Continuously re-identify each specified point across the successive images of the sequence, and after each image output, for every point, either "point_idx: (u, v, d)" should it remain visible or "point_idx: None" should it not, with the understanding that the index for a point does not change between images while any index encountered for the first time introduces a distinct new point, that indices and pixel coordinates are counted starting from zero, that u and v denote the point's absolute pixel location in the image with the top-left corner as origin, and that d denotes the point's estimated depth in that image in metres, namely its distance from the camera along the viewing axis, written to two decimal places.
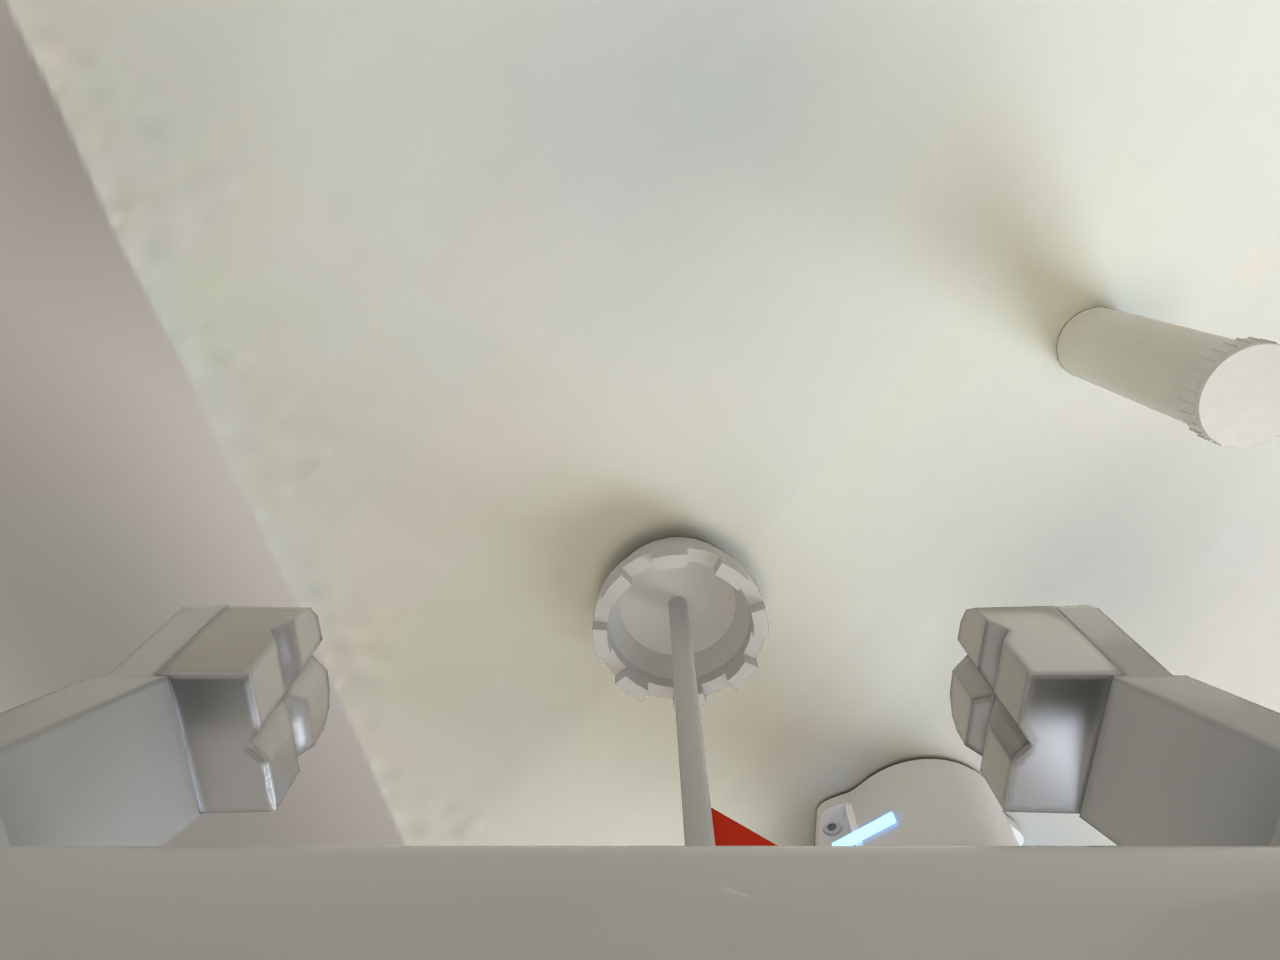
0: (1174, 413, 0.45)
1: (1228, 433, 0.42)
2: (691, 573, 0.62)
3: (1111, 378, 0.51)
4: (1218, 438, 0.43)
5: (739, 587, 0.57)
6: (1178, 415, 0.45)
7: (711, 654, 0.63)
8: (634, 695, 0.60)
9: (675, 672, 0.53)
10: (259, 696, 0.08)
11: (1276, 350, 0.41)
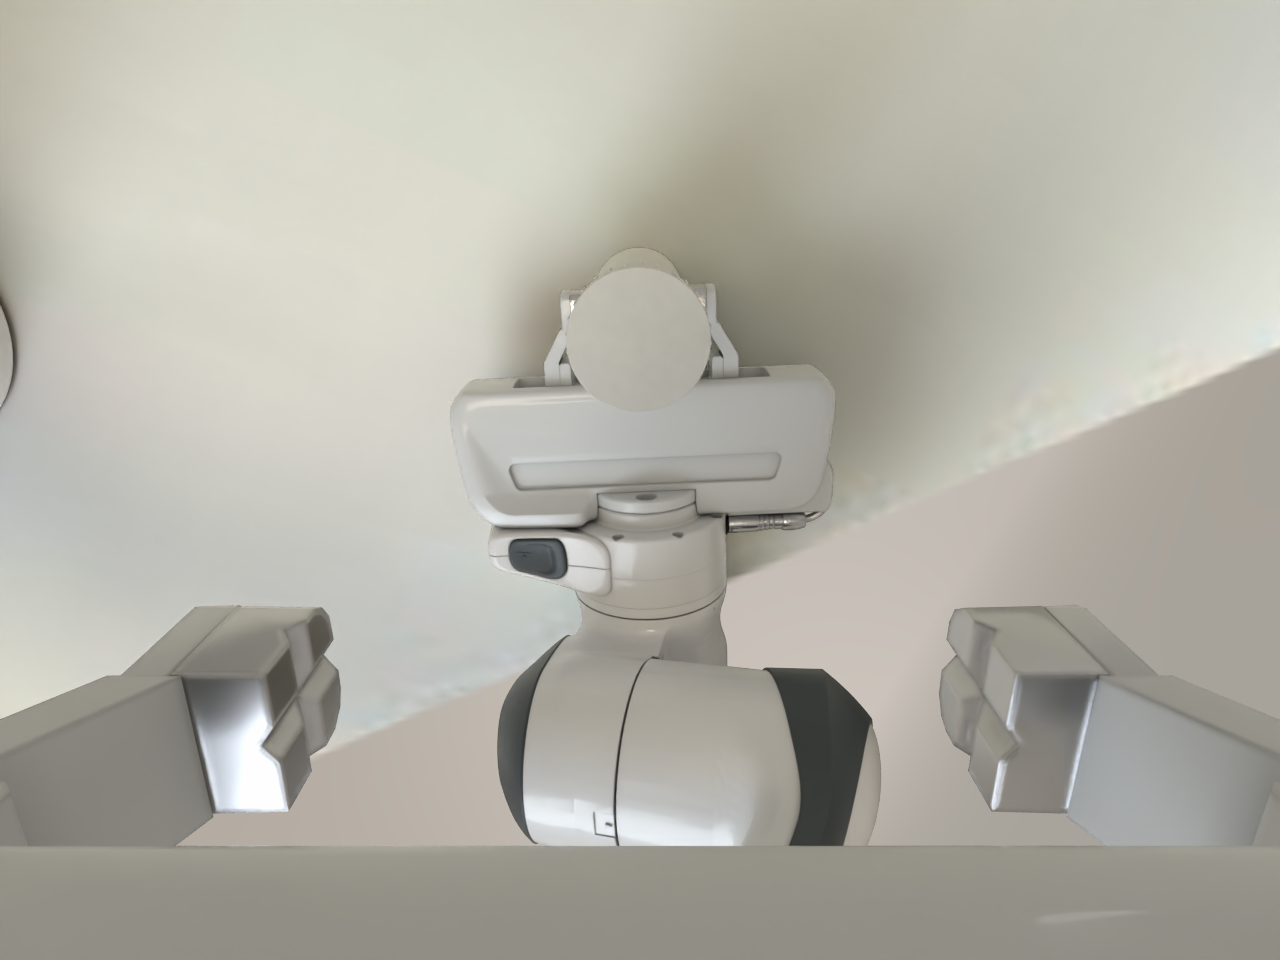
0: None
1: (583, 331, 0.31)
2: None
3: (607, 267, 0.39)
4: (573, 321, 0.31)
5: None
6: None
7: None
8: None
9: None
10: (272, 696, 0.08)
11: (703, 341, 0.31)
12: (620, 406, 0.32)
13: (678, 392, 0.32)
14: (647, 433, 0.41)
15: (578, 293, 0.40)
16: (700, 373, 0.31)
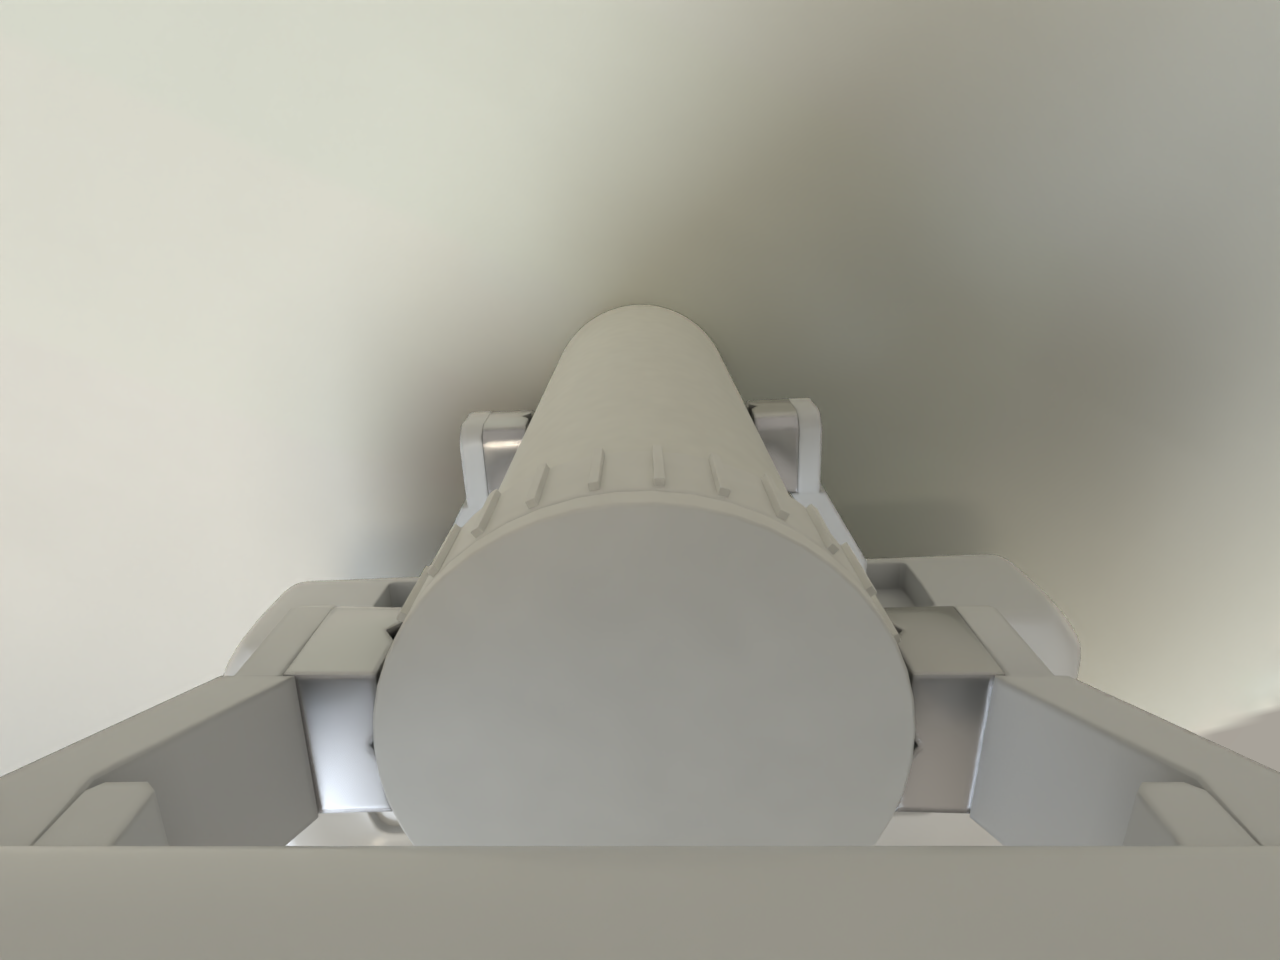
0: None
1: (435, 723, 0.08)
2: None
3: (567, 374, 0.16)
4: (397, 688, 0.08)
5: None
6: None
7: None
8: None
9: None
10: None
11: (885, 752, 0.08)
12: None
13: None
14: None
15: (502, 426, 0.17)
16: None
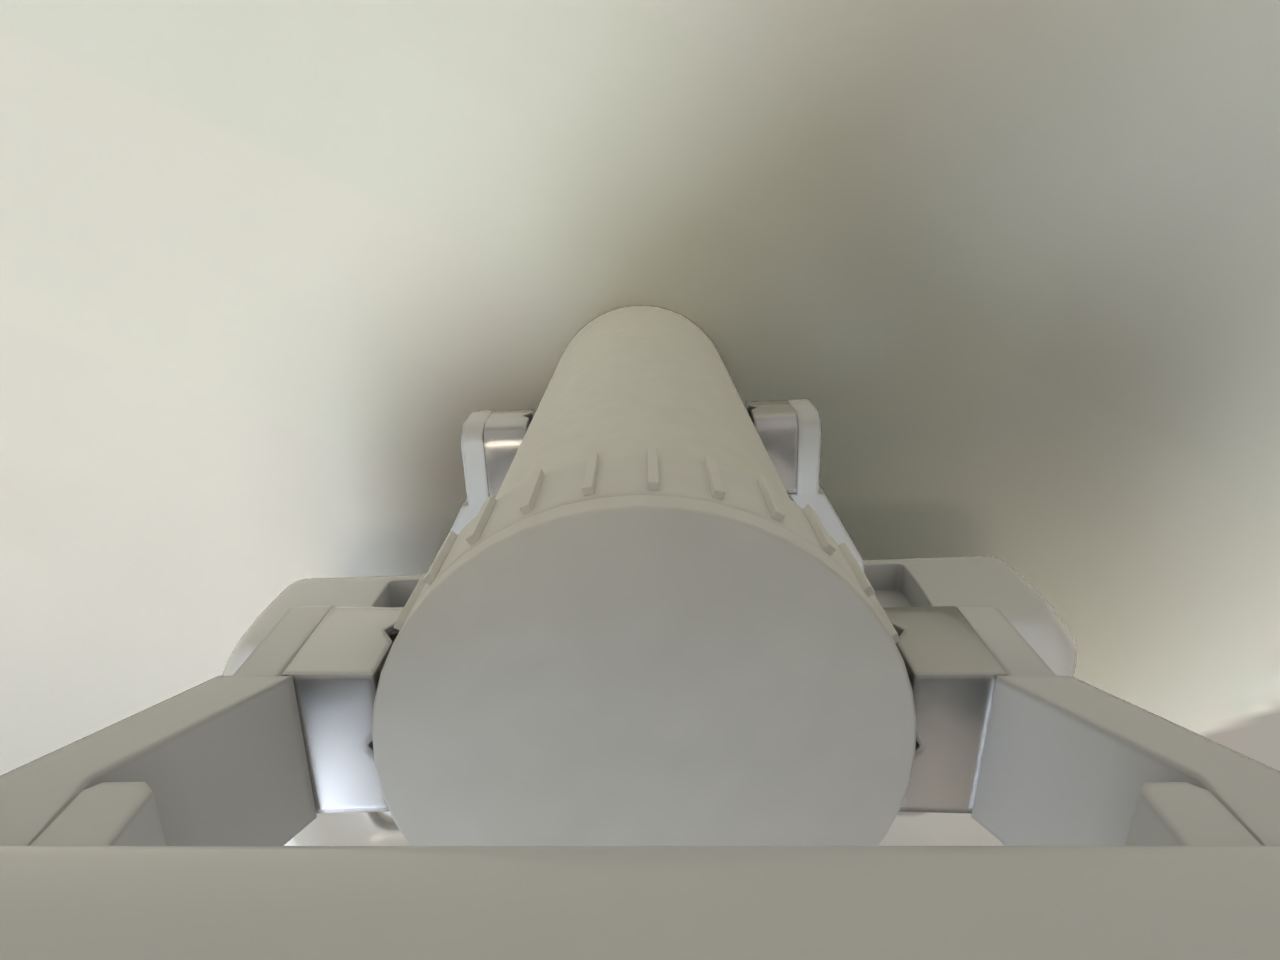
0: None
1: None
2: None
3: (568, 375, 0.16)
4: None
5: None
6: None
7: None
8: None
9: None
10: None
11: (698, 541, 0.07)
12: None
13: (875, 666, 0.08)
14: None
15: (503, 426, 0.17)
16: (825, 576, 0.07)
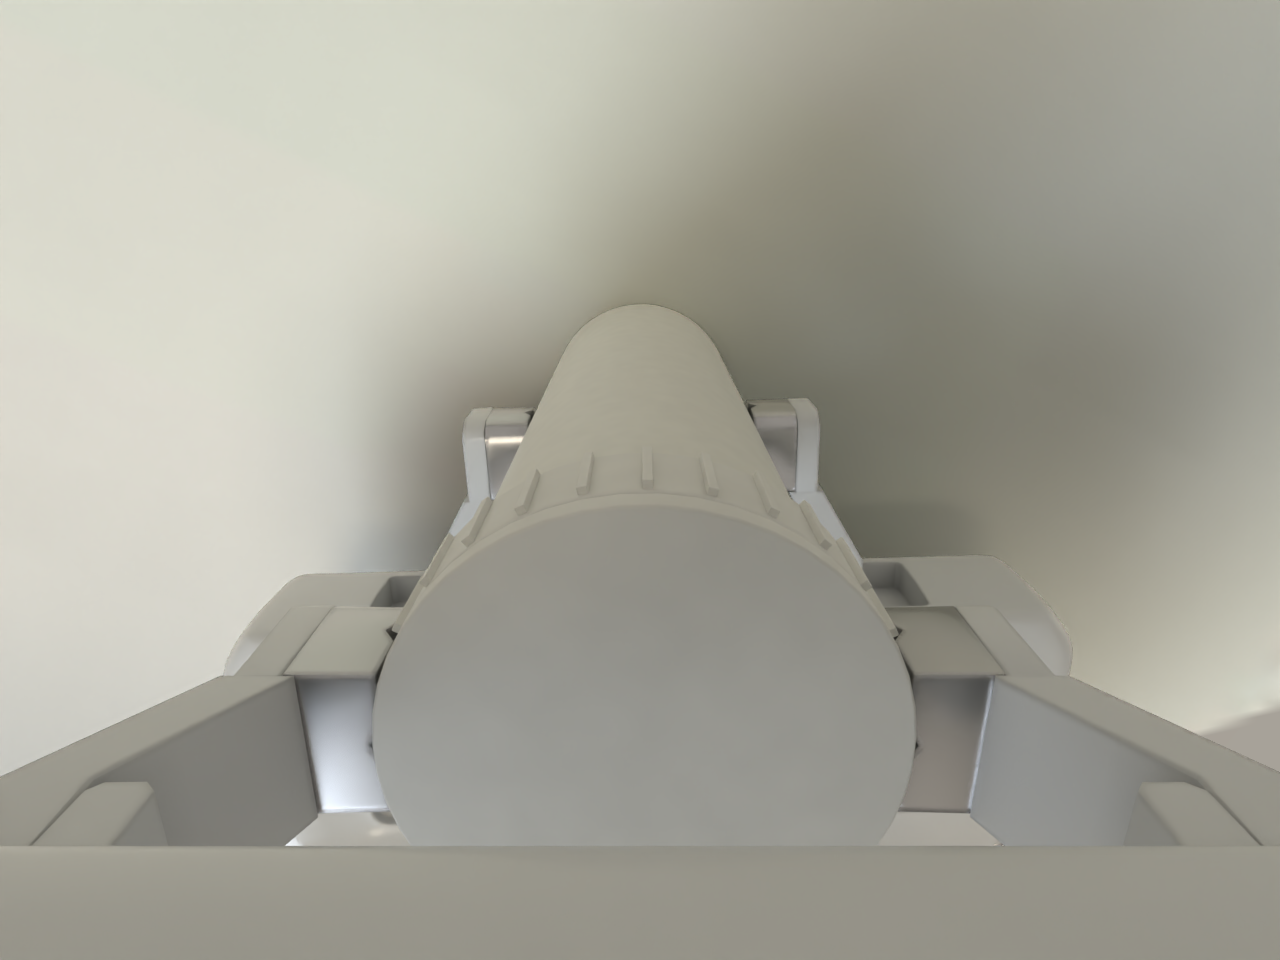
0: None
1: None
2: None
3: (570, 371, 0.16)
4: None
5: None
6: None
7: None
8: None
9: None
10: None
11: (412, 675, 0.08)
12: (823, 576, 0.08)
13: (574, 541, 0.07)
14: None
15: (505, 423, 0.18)
16: (460, 576, 0.08)
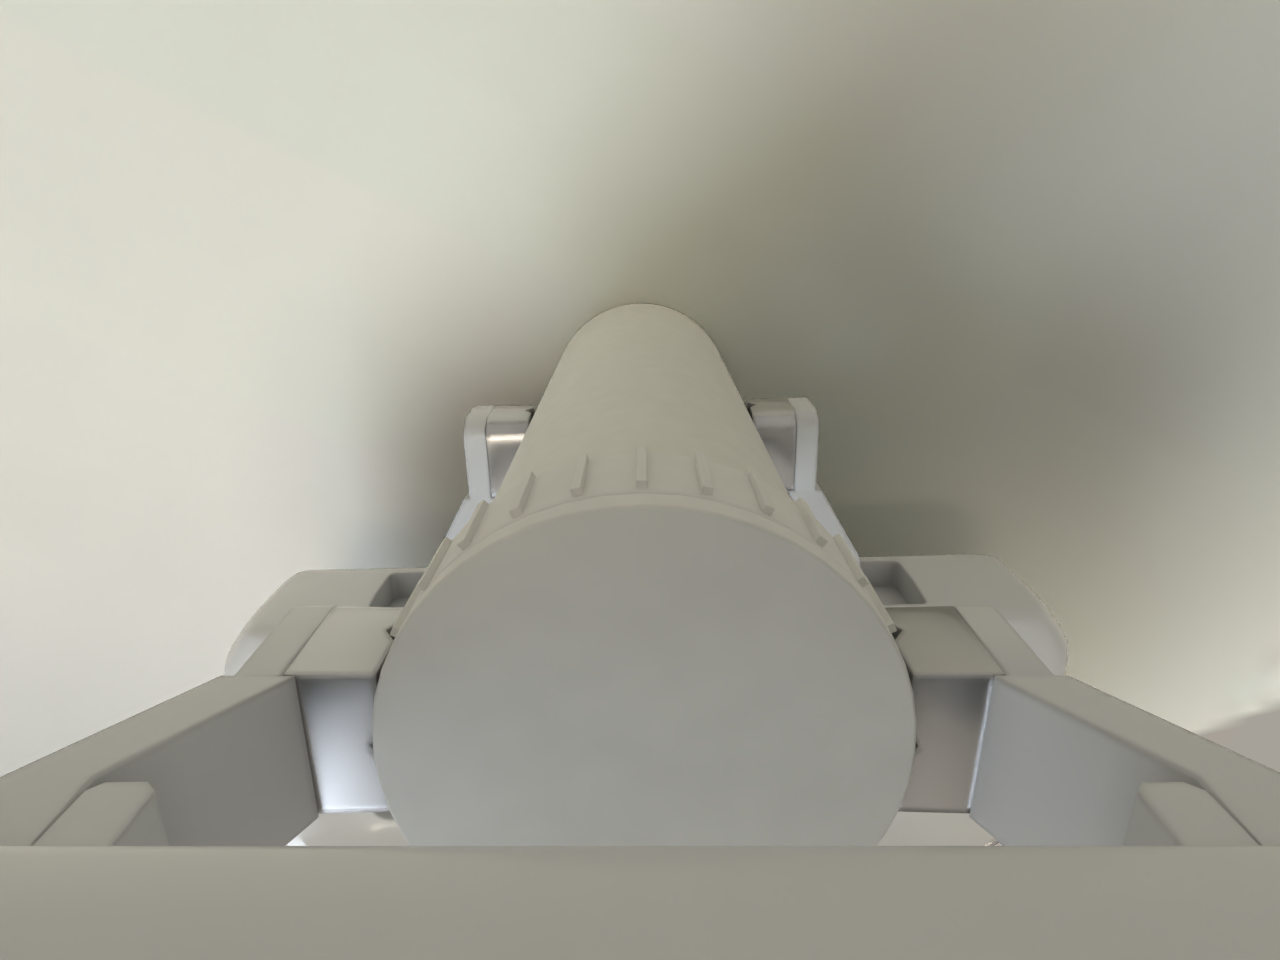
0: None
1: (803, 630, 0.08)
2: None
3: (570, 370, 0.16)
4: (860, 626, 0.08)
5: None
6: None
7: None
8: None
9: None
10: None
11: None
12: (466, 576, 0.08)
13: (399, 769, 0.08)
14: None
15: (506, 420, 0.18)
16: None
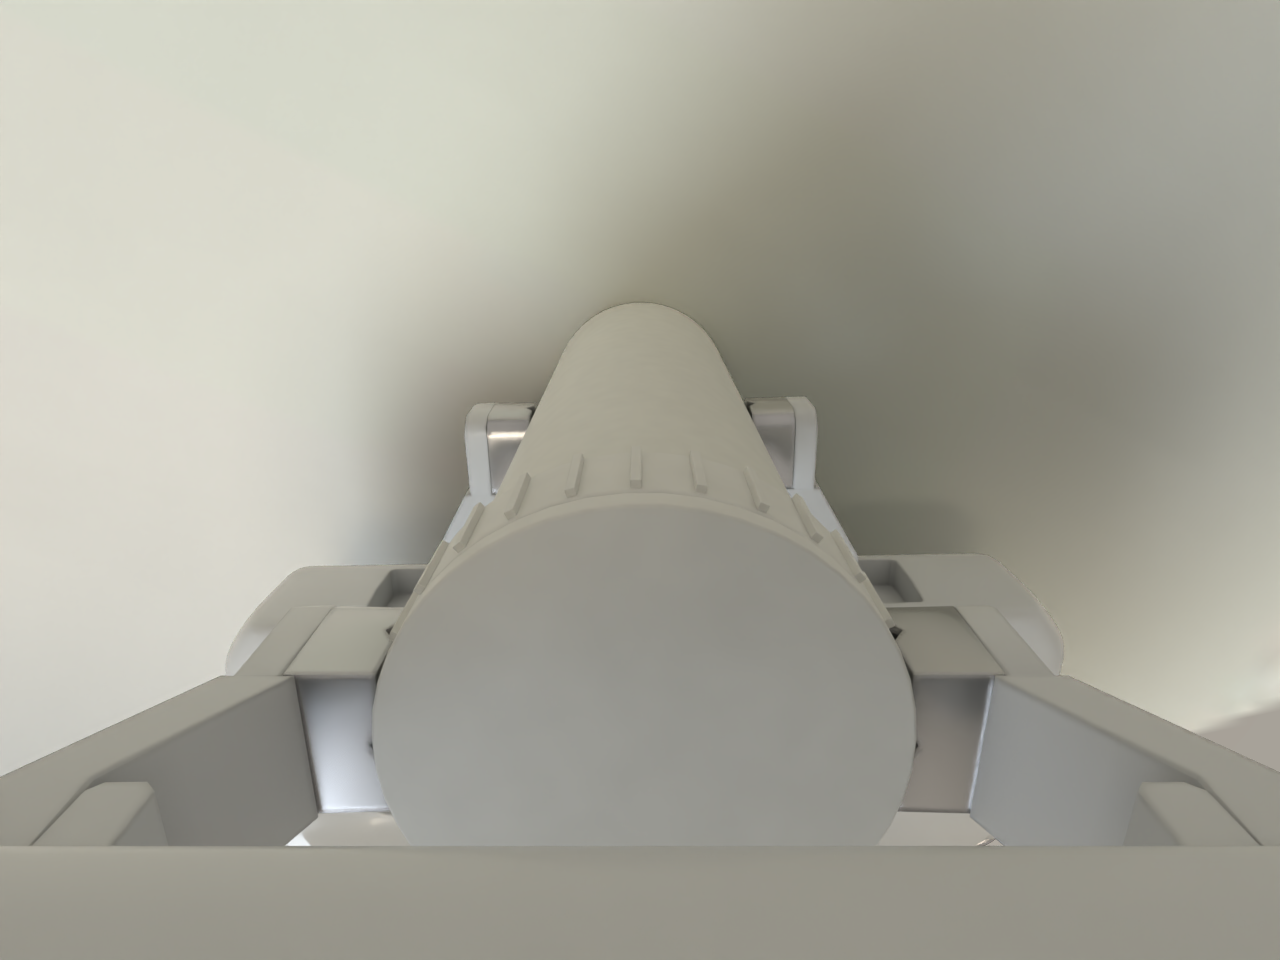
0: None
1: (522, 601, 0.08)
2: None
3: (571, 368, 0.17)
4: (526, 549, 0.07)
5: None
6: None
7: None
8: None
9: None
10: None
11: None
12: None
13: None
14: None
15: (507, 418, 0.18)
16: None
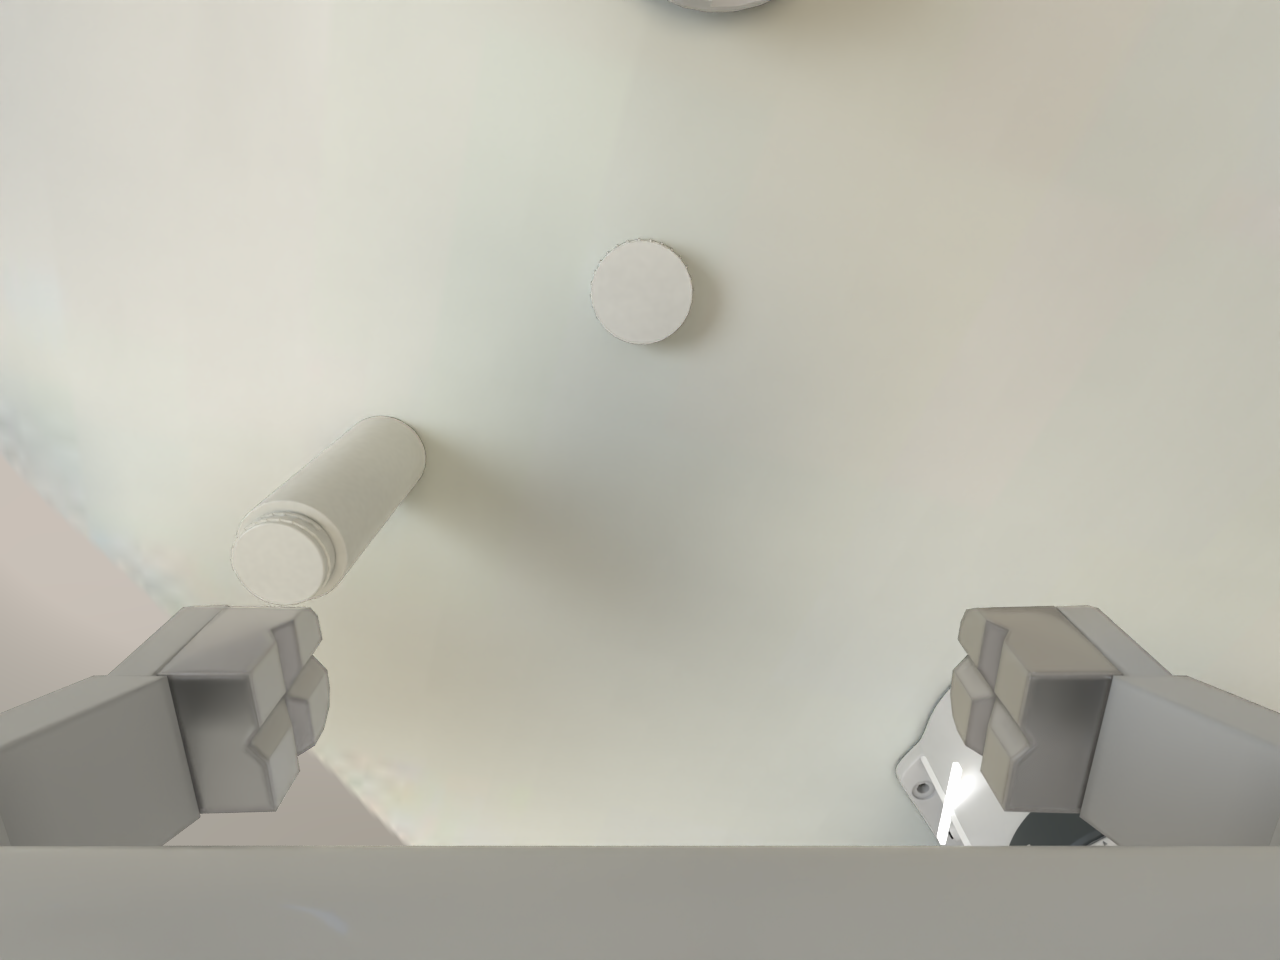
0: (318, 494, 0.36)
1: (605, 308, 0.45)
2: None
3: (374, 462, 0.42)
4: (596, 304, 0.44)
5: None
6: (314, 497, 0.36)
7: None
8: None
9: None
10: (259, 697, 0.08)
11: (680, 269, 0.44)
12: (654, 340, 0.45)
13: (684, 310, 0.45)
14: None
15: None
16: (690, 290, 0.44)
